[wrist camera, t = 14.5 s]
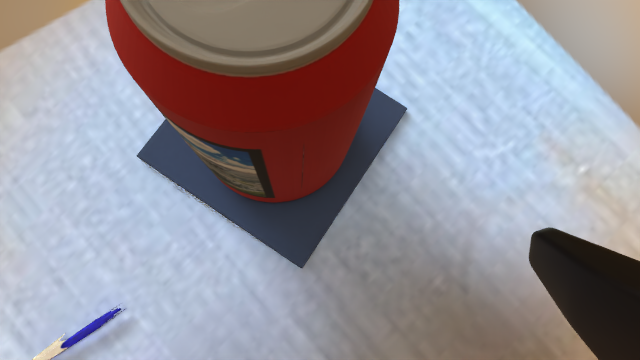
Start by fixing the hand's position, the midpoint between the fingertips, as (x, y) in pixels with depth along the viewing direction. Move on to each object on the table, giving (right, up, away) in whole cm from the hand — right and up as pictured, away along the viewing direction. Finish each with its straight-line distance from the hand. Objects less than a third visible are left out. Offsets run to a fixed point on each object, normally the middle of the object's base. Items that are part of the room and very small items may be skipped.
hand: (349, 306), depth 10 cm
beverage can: (-3, +5, +11) cm, 12 cm away
